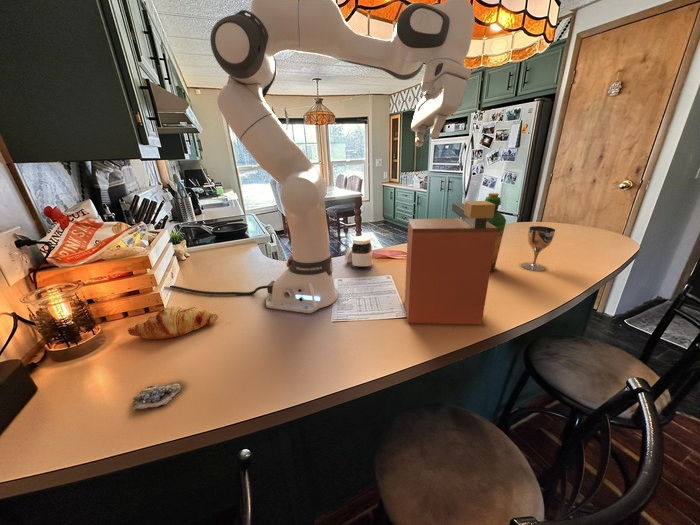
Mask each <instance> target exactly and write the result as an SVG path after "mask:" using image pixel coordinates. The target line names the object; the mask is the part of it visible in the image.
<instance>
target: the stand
mask: <svg viewBox="0 0 700 525" xmlns="http://www.w3.org/2000/svg"><path fill="white" fill-rule="evenodd" d="M496 234H497V227H495V226H494V225H492V224H491V223H489V222H486V228H485V229H475V228H473V227H472V226H471V225H470V224H468V223H467V222H466V221H465V220H463V219H462V218H461V217H459V218H408V220H407V240H406V241H407V242H406V262H405V263H406V264H405V265H406V266H405V287H404V308H405V313H406V314H405V315H406V319H407V323H408V324H446V325H453V324H454V325H482V324H483V318H484V312H485V305H486V300H487V293H488V287H489V281H490V275H491V271H490V270H491V264H492V258H493V252H494V246H495V240H496Z"/></svg>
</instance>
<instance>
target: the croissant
mask: <svg viewBox="0 0 700 525" xmlns="http://www.w3.org/2000/svg"><path fill="white" fill-rule="evenodd" d="M218 319H219V314H218V313H215V312H213V311H211V310H209V309H205V310H203V309H201V308H198V307H196V306H192V307H189V308H185V309H184V308H182V307H180V306H168V307H164V308H162V309H159V310H158V313H157V314H153V315H151V316H149V317H148V318H147V320H145V321H141V322H137V324H135V326H131V327H129V328H128V329H127V333H128V335H130V336H133V337H140V338H142V339H144V340H145V339H146V340H164V339H169V338H175V337H180V336H183V335H185V334H188V333H191V332H192V331H195V330H199V329H200V328H202V327H204V326H206V325H210V324H212V323H214V322H216V321H217V320H218Z"/></svg>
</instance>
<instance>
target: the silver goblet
mask: <svg viewBox="0 0 700 525" xmlns="http://www.w3.org/2000/svg"><path fill="white" fill-rule="evenodd" d="M555 234H556V229H555V228H553V227H549V226H541V225H533V226H532V225H531V226H529V227H528V231H527V242H528V244H529V246H530V248H531V249H532V250H533V254H534V255H533V262H532V263H523V264H522V268H524V269H526V270H529V271H535V272H542V271H544V270H545V267H544V266H542V265H540V264H537V259H538V257H539V254H540V253H541V252H542V251H543V250H545V249H547V248H548V247H549V246H550V245H551V244H552V242H553V239H554V237H555Z"/></svg>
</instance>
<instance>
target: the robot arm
mask: <svg viewBox="0 0 700 525" xmlns="http://www.w3.org/2000/svg"><path fill="white" fill-rule="evenodd" d="M250 6H251V7H250V10H247V9H241V10H239V11H238V12H236V13H234V14H231V15H227V16H224V17H222V18H221V19H219V20H218V21H217V22H216V23H215V24H214V26H213V27H212V29H211V32H210V48H211V51H212V54H213V57H214V58H215V60H216V62H217V63H218V65H219V67H220V68H221V69H222V71H224V73H226V74H228V80H227V83H226V84H225V85H223V87H222V88H221V90H220V91H219V93H218V95H217V107H218V110H220V112H221V114H222V116H223V118H224V120H225V121H226V123H227V124H228V126H229V127H230V129H231V130H232V132H233V133H234V135H235V136H236V138H237V139H238V140H239V142H240V143H241V144H242V145H243V147H245V149H246V150H247V151H248V153H249V154H250V156H252V158H253V159H254V160H255V161H256V163H257V164H258V165H259V167H260V168H261V169H262V170H264V171H265V172H266V173H268V174H269V175H270V176H271V177H272V178H273V179H274V180H275V181H276V182H277V183H278V184H279V185H280V187H281V188H280V201H281V204H282V207H283V211H284V215H285V219H286V223H287V226H288V230H289V234H290V235H289V236H290V241H291V242H290V243H291V250H292V253H291V254H290V255H289V258H288V259H287V262H286V263H285V265H286V268H287V269H285V271H283V272H282V273H281V274H280V275H279V276H278V277H277V278H276V279H275V280H271V282H269V283H268V284H267V285H261V286H258V287H256V288H255V289H254V290H252V291H247V292H246V291H245V292H241V291H205V290H199V289H191V288H186V287H181V286H177V285H172V284H171V285H172V286H170V287H169V289H175V290H179V291H185V292H190V293H195V294H202V295H217V296H218V295H219V296H220V295H221V296H225V295H226V296H227V295H229V296H230V295H231V296H233V295H234V296H251V295H254V294H256V293H257V292H258V291H260V290H264V289H266V291H267V294H268V295H267V297H266V299H265V306H266V308H268V309H275V310H281V311H288V312H289V311H290V312H296V313H304V314H312V313H314V312H316V311H317V310H319V309H322V308H325V307H328V306H330V305H332V304H334V303H335V302H336V301H337V299H338V297H339V295H338V294H339V293H338V292H337V289H336V286H335V283H334V278H333V270H334V268H333V258H332V254H331V252H330V236H329V234H330V233H329V227H328V219H327V210H326V196H327V190H328V187H327V186H328V185H327V182H326V180H325V179H324V177H323V175H322V174H321V173H320V171H319V170H318V169H317V167H316V166H315V165H314V164H313V162H312V161H311V160H310V159H309V157H307V155H306V154H305V153H304V152H303V150H302V149H301V148H300V147H299V145H298V144H297V143H296V142H295V141H294V139H293V138H292V136H291V135H290V134H289V132H288V131H287V130H286V128H285V127H284V125H283V124H282V123H281V121H280V120H279V119H278V117H277V116H276V114H275V113H274V112H273V111H272V109H271V108H270V107H269V105H268V103H267V102H266V101H265V99H264V98H265V97H266V95H267V94H268V92H269V90H270V89H271V87H272V86H273V84H274V83H275V81H276V77H277V75H278V74H277V73H278V66H277V61H276V58H275V56H276V55H278V54H280V53H282V52H288V51H292V52H297V53H305V54H312V55H319V56H323V57H329V58H331V59H334V60H338V61H340V62H344V63H349V64H353V65H357V66H361V67H367V68H372V69H376V70H380V71H383V72H385V73H386V74H389V75H390V76H392V77H393V78H395V79H397V80H402V81H407V80H410V79H414V78H415V77H416V76H418V74H419V73H420V72H421V70H422V69H423V66H424V64H425V68H424V72H423V76H422V80H421V83H420V84H421V85H420V90H421V92H422V93H423V97H422V98H420V100H419V101H418V104H417V105H416V108H415V111H414V114H413V119H412V120H411V125H410V130H411V131H412V132H415V140H414V146H415V147H417V148H421V147H423V145H424V142H425V139H424V135H425V134H426V131H428V130H430V132H429V135H428V137H429V139H432V140H436V139H439V137H440V134H441V131H442V129H443V127H444V125H445V123H446V121H447V119H448V118H449V117H451V116H453V115H454V114H456V112H457V111H458V109H459V107H460V106H461V103H462V100H463V97H464V93H465V90H466V87H467V82H468V81H469V80H470V79H471V75H472V69H471V68H468V67H466V66H465V59H466V57H467V56H468V53H469V51H470V47H471V43H472V38H473V34H474V28H475V22H476V15H475V10H474V7H473V5H472V3H471V2H469V0H446V1H444V2H441V3H436V4H428V3H426V2H425V3H424V2H420V1H419V2H413V3H410V4H408V5H407V6H405V8H403V9H402V11H401V12H400V13H399V15H398V17H397V21H396V24H395V27H394V30H393V35H392V37H391V38H389V39H381V38H377V37H372V36H369V35H364V34H360V33H358V32H356V31H355V30H353V29H352V28H351V27H350V26H349V24H348V23H347V21H346V20H345V18H344V16H343V14H342V11H341V9H340V8H339V6H338V4H337V3H336V2H335V0H252V1H251V5H250Z"/></svg>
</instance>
